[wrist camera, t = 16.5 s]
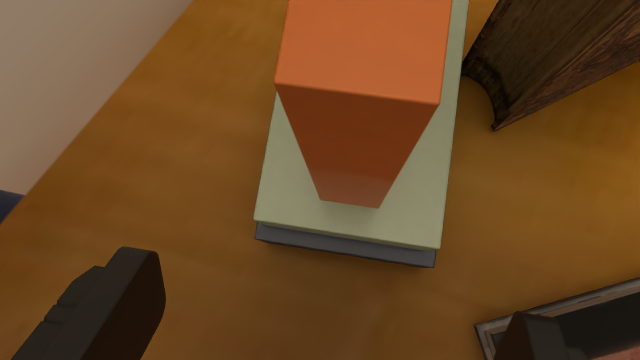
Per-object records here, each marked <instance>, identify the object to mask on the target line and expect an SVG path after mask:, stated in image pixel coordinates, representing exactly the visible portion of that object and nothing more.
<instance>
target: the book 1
mask: <svg viewBox="0 0 640 360" xmlns="http://www.w3.org/2000/svg"><path fill="white" fill-rule="evenodd" d="M639 60H640V0H499V1H498V3H497V4H496V6H495V8H494V9H493V11H492V13H491V15H490V16H489V18H488V20H487V21H486V23H485V25H484V27H483V28H482V30H481V32H480V33H479V35H478V37H477V39H476V40H475V42H474V44H473V45H472V47H471V49H470V50H469V52H468V54H467V56H466V57H465V59H464V61H463V63H462V65H461V76H468V77H470V78H473V79H474V80H476V81H477V82H479V83H480V84H481V85H482V86H483V87H484V88H485V90H486V91H487V92H488V94H489V96H490V98H491V100H492V103H493V107H494V112H495V123H494V124H493V125H492V126H491V127H492V129H493V130H494V131H496V130H499V129H501V128H503V127H505V126H507V125H509V124H511V123H513V122H515V121H517V120H519V119H521V118H523V117H525V116H527V115H529V114H531V113H533V112H535V111H537V110H540V109H542V108H544V107H546V106H548V105H550V104H552V103H554V102H556V101H558V100H560V99H562V98H564V97H566V96H568V95H570V94H572V93H574V92H576V91H578V90H580V89H582V88H584V87H586V86H588V85H590V84H592V83H594V82H596V81H598V80H600V79H602V78H604V77H606V76H608V75H610V74H612V73H614V72H616V71H618V70H620V69H622V68H625V67H627V66H629V65H631V64H633V63H635V62H637V61H639Z"/></svg>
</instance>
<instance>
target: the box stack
mask: <svg viewBox="0 0 640 360" xmlns="http://www.w3.org/2000/svg"><path fill="white" fill-rule="evenodd" d="M468 5H469V0H453V2H452V10H451V18H450V27H449V35H448V43H447V51H446V60H445V68H444V76H443V85H442V93H441V101H440V105H439V106H438V108H437V110H436V111H435V113H434V115H433V117H432V118H431V120H430V122H429V123H428V125H427V127H426V129H425V130H424V132H423V134H422V135H421V137H420V139H419V140H418V142H417V144H416V146H415V147H414V149H413V151H412V152H411V154H410V156H409V158H408V159H407V161H406V163H405V164H404V166H403V168H402V170H401V171H400V173H399V175H398V176H397V178H396V180H395V182H394V183H393V185H392V187H391V188H390V190H389V192H388V194H387V195H386V197H385V199H384V200H383V202H382V204H381V206H380V207H379V209H377V208H370V207H363V206H357V205H350V204H343V203H337V202H330V201H324V200H320V198H319V196H318V193H317V191H316V188H315V186H314V183H313V181H312V178H311V176H310V173H309V171H308V168H307V165H306V163H305V160H304V158H303V155H302V153H301V150H300V148H299V145H298V143H297V140H296V138H295V135H294V133H293V130H292V128H291V125H290V123H289V120H288V118H287V115H286V112H285V110H284V107H283V105H282V102H281V100H280V97H279V95H278V92H276V97H275V103H274V108H273V113H272V119H271V124H270V130H269V135H268V140H267V146H266V151H265V157H264V162H263V167H262V173H261V178H260V183H259V189H258V194H257V200H256V205H255V210H254V216H253V220H255V221H257V227H256V233H255V239H256V240H260V241H263V242H267V243H273V244H279V245H285V246H291V247H298V248H304V249H310V250H316V251H322V252H329V253H335V254H341V255H347V256H353V257H359V258H366V259H372V260H378V261H384V262H390V263H397V264H403V265H409V266H415V267H422V268H434V264H435V255H436V250H437V249H440V247H441V238H442V229H443V221H444V212H445V203H446V195H447V186H448V177H449V169H450V160H451V152H452V143H453V134H454V126H455V117H456V108H457V100H458V91H459V82H460V74H461V65H462V56H463V48H464V39H465V30H466V22H467V13H468Z"/></svg>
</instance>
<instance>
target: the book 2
mask: <svg viewBox="0 0 640 360" xmlns="http://www.w3.org/2000/svg"><path fill="white" fill-rule="evenodd" d="M521 312H525V313H531V314H537V315H543V316H549V317H554V318H555V319H556V320H557V321H558V323H559V326H560V329H561V332H562V335H563V338H564V341H565V344H566V345H567V346H573V347H579V348H580V349H581V350H582V351H583V353H584V354H585V355H586V356H587V358H588V359H589V360H640V277H638V278H635V279H631V280H628V281H624V282H621V283H618V284H614V285H611V286H607V287H604V288H600V289H597V290H593V291H590V292H587V293H583V294H580V295H576V296H573V297H569V298H566V299H562V300H559V301H556V302H552V303H549V304H545V305H542V306H538V307H535V308H531V309H528V310H525V311H521ZM512 316H513V314H511V315H507V316H504V317H500V318H497V319H494V320H490V321H487V322H483V323H480V324H476V325H474V328H475V331H476V334H477V337H478V340H479V343H480V346H481V349H482V352H483V355H484V358H485V360H493V359H494V355H495V352H496V350H497V348H498V346H499V343H500V341H501V339H502V337H503V335H504V333H505V331H506V329H507V326H508V324H509V322H510V320H511V318H512Z"/></svg>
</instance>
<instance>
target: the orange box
mask: <svg viewBox="0 0 640 360" xmlns="http://www.w3.org/2000/svg"><path fill="white" fill-rule="evenodd" d="M452 2H453V0H289V1H288V6H287V11H286V17H285V22H284V28H283V33H282V38H281V44H280V49H279V55H278V60H277V65H276V71H275V76H274V85H275V87H276V90H277V92H278V95H279V97H280V100H281V102H282V105H283V107H284V110H285V112H286V115H287V118H288V120H289V123H290V125H291V128H292V130H293V133H294V135H295V138H296V140H297V143H298V145H299V148H300V150H301V153H302V155H303V158H304V160H305V163H306V165H307V168H308V171H309V173H310V176H311V178H312V181H313V183H314V186H315V188H316V191H317V193H318V196H319V198H320V200H324V201H330V202H337V203H343V204H350V205H357V206H363V207H370V208H377V209H379V207H380V206H381V204H382V202H383V200H384V199H385V197H386V195H387V194H388V192H389V190H390V188H391V187H392V185H393V183H394V182H395V180H396V178H397V176H398V175H399V173H400V171H401V170H402V168H403V166H404V164H405V163H406V161H407V159H408V158H409V156H410V154H411V152H412V151H413V149H414V147H415V146H416V144H417V142H418V140H419V139H420V137H421V135H422V134H423V132H424V130H425V129H426V127H427V125H428V123H429V122H430V120H431V118H432V117H433V115H434V113H435V111H436V110H437V108H438V106H439V105H440V101H441V93H442V85H443V76H444V68H445V60H446V51H447V43H448V35H449V27H450V18H451V10H452Z"/></svg>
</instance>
